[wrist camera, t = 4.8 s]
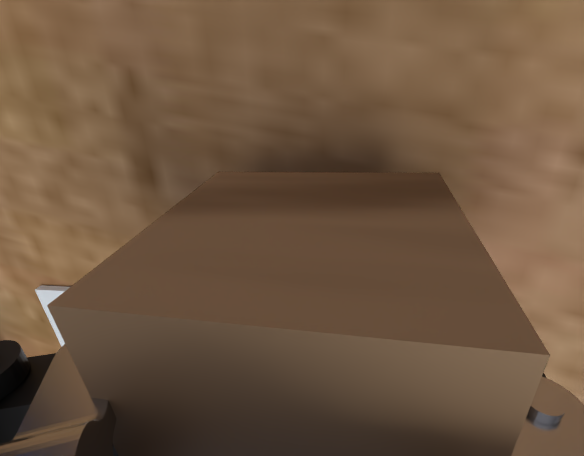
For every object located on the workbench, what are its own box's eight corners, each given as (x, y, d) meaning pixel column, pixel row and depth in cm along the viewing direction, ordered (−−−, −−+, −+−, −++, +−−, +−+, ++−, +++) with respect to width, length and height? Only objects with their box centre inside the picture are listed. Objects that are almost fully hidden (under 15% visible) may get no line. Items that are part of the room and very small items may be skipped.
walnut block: (218, 171, 10) (46, 305, 5) (439, 172, 9) (550, 355, 3) (243, 329, 12) (153, 527, 7) (414, 346, 11) (455, 600, 6)
